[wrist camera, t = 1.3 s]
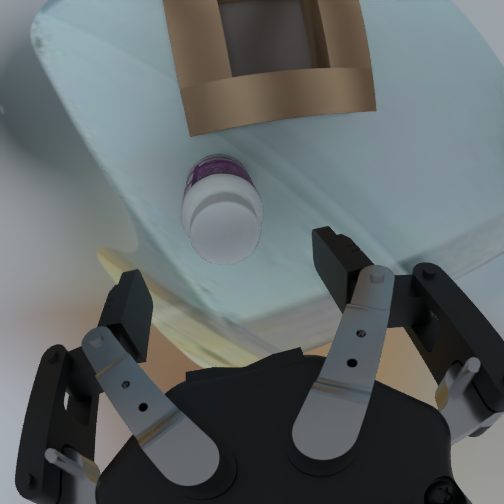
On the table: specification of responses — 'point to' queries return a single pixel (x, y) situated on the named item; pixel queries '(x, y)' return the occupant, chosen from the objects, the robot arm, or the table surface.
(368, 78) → the well block
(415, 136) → the table surface
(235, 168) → the pill bottle
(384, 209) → the table surface
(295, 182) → the table surface
